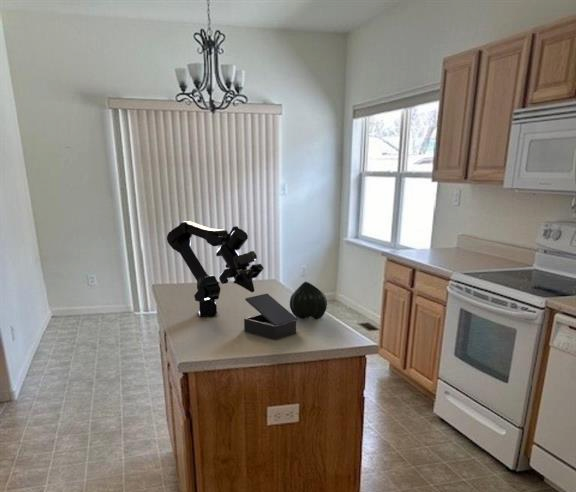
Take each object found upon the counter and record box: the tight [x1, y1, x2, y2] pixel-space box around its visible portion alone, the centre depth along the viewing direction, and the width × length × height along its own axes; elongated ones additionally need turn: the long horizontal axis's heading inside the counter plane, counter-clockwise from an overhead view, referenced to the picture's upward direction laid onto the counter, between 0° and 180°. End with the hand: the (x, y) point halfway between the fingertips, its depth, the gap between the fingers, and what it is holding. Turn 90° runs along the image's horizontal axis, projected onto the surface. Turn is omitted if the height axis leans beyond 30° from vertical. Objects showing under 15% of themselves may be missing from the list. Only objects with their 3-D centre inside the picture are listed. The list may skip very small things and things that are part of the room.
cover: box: [244, 293, 298, 326], centre depth 195 cm, size 16×12×1 cm
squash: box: [289, 281, 328, 320], centre depth 216 cm, size 14×15×15 cm
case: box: [243, 313, 297, 340], centre depth 197 cm, size 16×12×5 cm
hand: (253, 291), depth 198 cm, fingers closed
